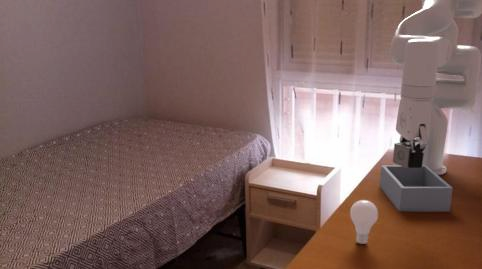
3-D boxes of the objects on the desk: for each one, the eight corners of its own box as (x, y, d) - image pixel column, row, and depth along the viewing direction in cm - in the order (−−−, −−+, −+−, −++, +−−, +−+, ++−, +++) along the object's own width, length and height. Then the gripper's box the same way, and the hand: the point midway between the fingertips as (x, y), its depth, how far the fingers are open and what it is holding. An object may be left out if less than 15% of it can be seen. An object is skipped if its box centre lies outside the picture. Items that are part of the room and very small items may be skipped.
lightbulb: (375, 239, 111) (379, 197, 108) (374, 252, 105) (378, 208, 102) (349, 234, 113) (352, 194, 110) (346, 247, 107) (349, 204, 104)
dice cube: (392, 162, 115) (394, 143, 114) (407, 159, 117) (409, 141, 116) (407, 168, 111) (409, 149, 110) (422, 165, 113) (424, 146, 112)
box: (379, 186, 143) (381, 165, 141) (423, 186, 143) (426, 165, 141) (399, 211, 126) (401, 188, 124) (449, 211, 126) (452, 188, 124)
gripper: (390, 85, 117) (383, 151, 122) (415, 99, 100) (407, 175, 106) (419, 85, 117) (411, 151, 122) (449, 99, 101) (439, 175, 106)
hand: (409, 161), depth 114 cm, fingers closed on dice cube, 6 cm apart
